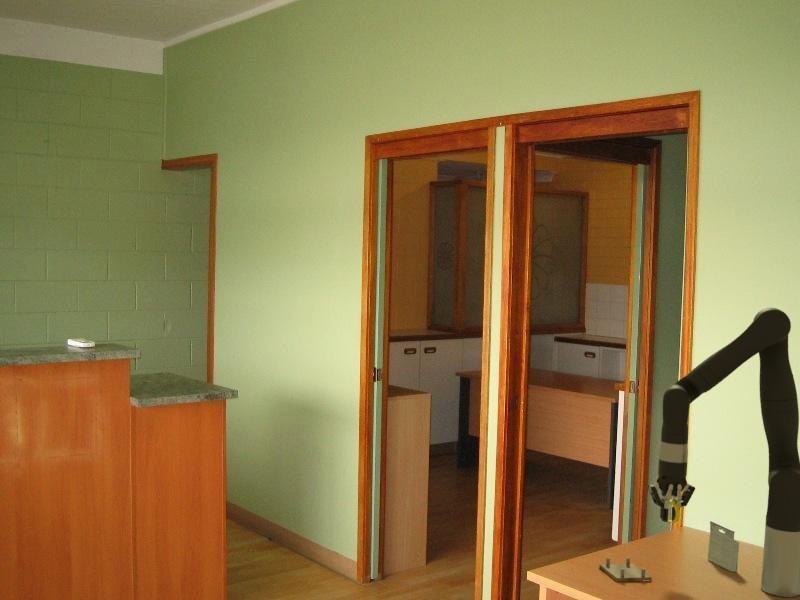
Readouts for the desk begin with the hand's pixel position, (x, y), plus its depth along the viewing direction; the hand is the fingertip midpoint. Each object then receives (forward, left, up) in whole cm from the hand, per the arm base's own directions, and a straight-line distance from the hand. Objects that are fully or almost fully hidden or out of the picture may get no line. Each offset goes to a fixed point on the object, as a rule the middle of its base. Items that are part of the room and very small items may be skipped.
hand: (669, 520), depth 255 cm
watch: (0, 0, -1) cm, 1 cm away
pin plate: (+12, 0, -15) cm, 19 cm away
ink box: (-21, -6, -15) cm, 26 cm away
